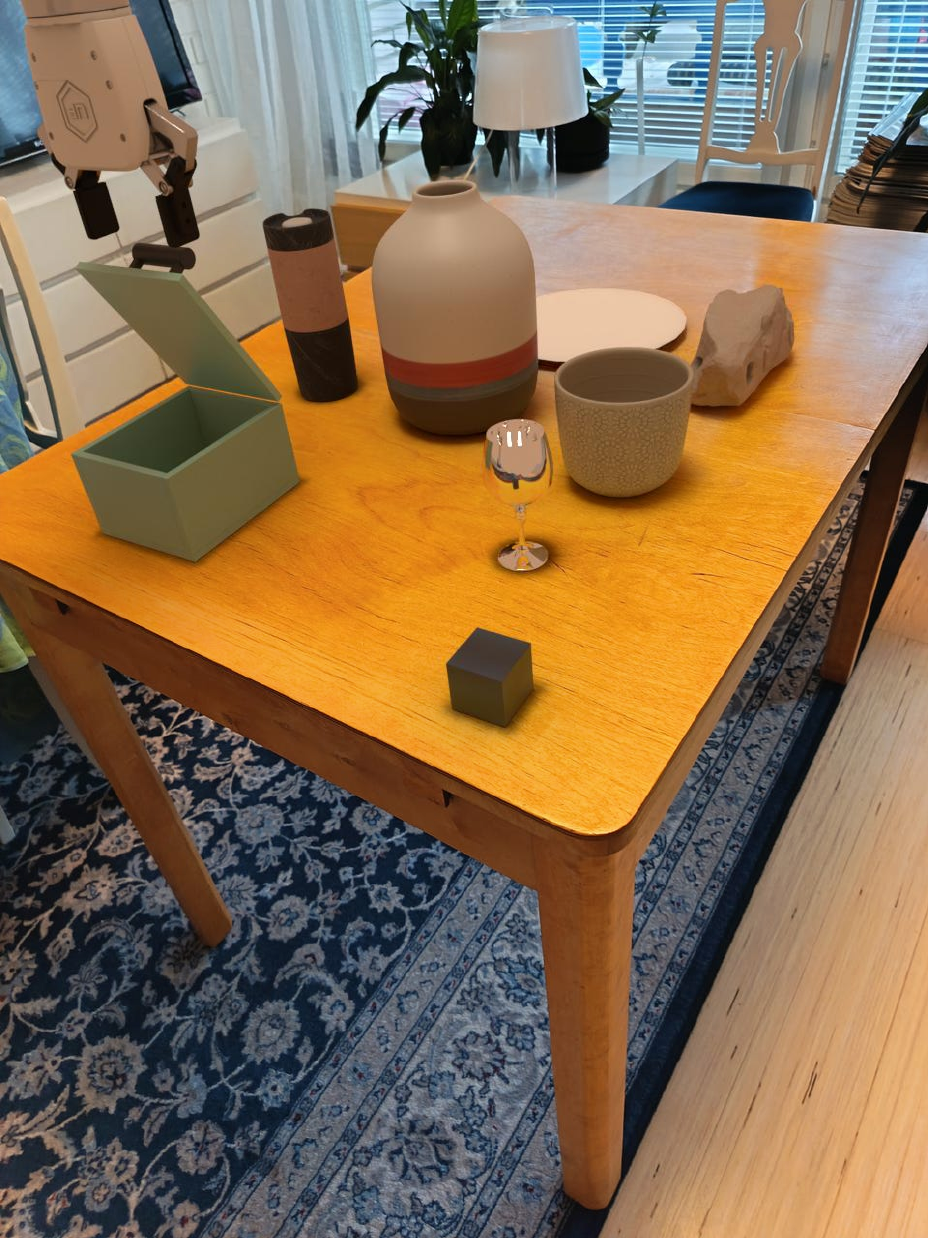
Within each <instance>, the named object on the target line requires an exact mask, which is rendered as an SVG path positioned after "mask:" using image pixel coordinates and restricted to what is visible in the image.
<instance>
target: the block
mask: <svg viewBox="0 0 928 1238" xmlns="http://www.w3.org/2000/svg"><path fill="white" fill-rule="evenodd" d="M532 654H533V653H532V643H531V642H529V641H525V640H521V639H518V638H515V637H513V636H512V637H511V636H509V635H505V634H502V633H498V632H495V631H491V630H488V629H484V628H481V627H478V626H477V627H475V628H474V630H473V631H472V632H471V633H470V635H469V636H468V637H467V638H466V639H465V641H463V643H462V644H461V645H460V646H459V648H458V649H457V650H456V651H455V652H454V654H453V655H452V656H451V657H450V658H449V659H448V660H447V661H446V663H445V667H446V674H447V675H446V676H447V680H448V689H449V698H450V705H451V709H452V710H454V711H456V712H460V713H463V714H465V715H468V716H470V717H474V718H477V719H480V720H482V721H484V722H485V721H486V722H488V723H491V724H494V725H497V726H499V727H503V728H507V726H508V724H509V723H510V722H511V721H512V719H513V718H514V717H515V716H516V714H517V712H518V711H519V710H520V708H521V707H522V706H523V704H524V703H525V702H526V700H527V699H528V697H529V696H530V694H531V693H532V692H533V690H534V673H533V672H534V671H533V655H532Z"/></svg>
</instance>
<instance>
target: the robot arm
mask: <svg viewBox="0 0 928 1238" xmlns="http://www.w3.org/2000/svg"><path fill="white" fill-rule="evenodd" d="M20 3H21V6H22V10H23V12H24V16H25V17H26V18H25V19H26V23H27V24H25V25H23V30H24V38H25V39H24V40H25V46H26V53H27V59H28V63H29V69H30V73H31V78H32V82H33V87H34V90H35V95H36V99H37V102H38V105H39V111H40V113H41V117H42V120H43V122H42V123H41V124H40V125H39V126H38V128H37V129H36V133H37V137H38V139H39V140H40V142H42V145H43V146H44V148H45V150H46V151H47V153H48V154H49V155H50V159H51V162H52V164H53V166H54V167H55V168H56V169H57V170H58V171H59V173H60V174H61V175H62V176H63V180H64V185H65V186H66V187H67V189H69V190H70V191H72V194H73V197H74V200H75V204H76V206H77V209H78V213H79V215H80V218H81V221H82V225H83V228H84V231H85V234H86V237H87V239H88V240H91V241H96V240H100V239H103V238H105V237H107V236H110V235H113V234H115V233H118V232H119V230H120V228H121V227H120V224H119V220H118V216H117V214H116V210H115V207H114V203H113V200H112V196H111V193H110V190H109V187H108V185H107V184H108V183H107V182H106V181H100V178H101V175H102V174H101V173H102V172H118V173H119V172H120V173H121V172H124V173H126V172H132V171H136V170H138V169H139V168H140V169H141V171H142V172H143V173H144V175H145V176H146V177H147V178H148V179H149V181H150V182H151V183H152V184H153V186H154V187H155V188H156V190H157V191H158V192H159V193H160V194H158V195H155V196H154V198H155V204H156V207H157V211H158V214H159V219H160V222H161V225H162V228H163V233H164V237H165V241H166V245H168V246H169V247H171V248H178V247H184V246H185V245H187V244H190V243H193V242H195V241H198V240H199V239H200V236H201V234H200V229H199V224H198V220H197V217H196V213H195V209H194V205H193V200H192V197H191V192H190V189H191V188H192V187H194V179H193V177H194V174H195V172H196V170H197V167H198V161H197V159H196V157H197V152H198V143H199V134H198V132H197V130H196V129H195V128H194V127H193V126H191V125H190V124H188V123H186V122H185V121H184V120H182V119H181V118H179V117H178V116H177V115H175V114H173V113H172V112H171V111H170V110H169V107H168V104H167V100H166V95H165V93H164V90H163V86H162V82H161V79H160V77H159V74H158V71H157V68H156V65H155V62H154V59H153V56H152V53H151V50H150V48H149V45H148V43H147V40H146V37H145V35H144V33H143V30H142V27H141V26H140V23H139V21H138V18H137V16H136V14H133V13H132V12H133V11H132V8H131V5H130V0H20ZM160 166H164V168H165V169H166V171H165V172H164V171H163V170H162V168H161V167H160ZM99 181H100V182H99Z"/></svg>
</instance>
